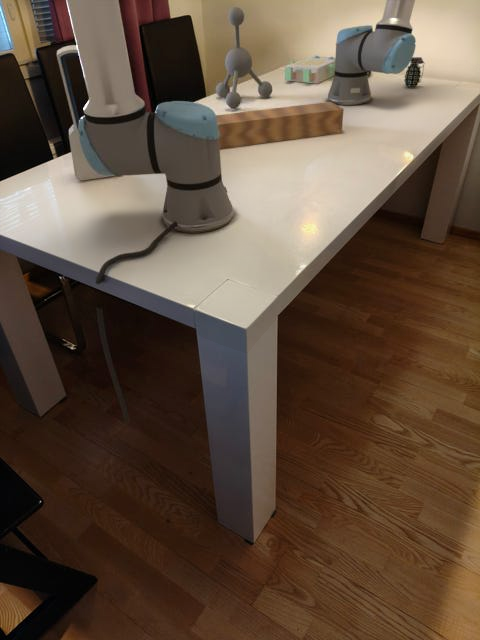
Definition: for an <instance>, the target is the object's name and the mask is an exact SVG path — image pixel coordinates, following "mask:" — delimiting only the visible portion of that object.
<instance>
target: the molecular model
mask: <svg viewBox="0 0 480 640" xmlns="http://www.w3.org/2000/svg"><path fill="white" fill-rule="evenodd" d="M227 18H228V22H229V24H230V25H232V26H234V41H235V42H234V43H235V44H234V45H235V47H233V48H232V49H230V50H229V51H228V52H227V54H226V56H225V59H224V66H225V70H226V71H227V74H226V77H225V79H224V81H221V82H219V83H218V84H216V86H215V93H216V95H217V96H218V97H219V98H223V99H224V98H225V103H226V105H227V107H228V108H231V109H236V108H238V107H240V105H241V103H242V97H241V94H240V93H239V92H237V89H238V80H239V79H241V78H244V77H246V76H247V75H248V74H249V75H250V77H251V78H252V79H253V80H254V81H255V83H257V85H258V87H257V92H258V94H259V96H260V97H262V98H268V97H270V96H271V95H272V93H273V86H272V84H271V83H270V81H266V80H265V81H264V80H263V81H262V80H261V79H260V78H259V77H258V76H257V74H256V73H255V72H254V71H253V70H252V68H253V67H252V66H253V59H252V56H251V54H250V52H249V51H248V50H247V49H246V48H244V47H241V45H240V44H241V43H240V41H241V40H240V25H242V24H243V22H244V20H245V13H244V11H243V9H242V8H240V7H237V6H234V7H232V8H230V10H229V11H228V15H227ZM231 76H232V77H233V78H232V79H233V80H232V86H231V88H230V85H229V81H230V79H231Z"/></svg>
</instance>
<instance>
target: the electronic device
mask: <svg viewBox="0 0 480 640" xmlns="http://www.w3.org/2000/svg"><path fill="white" fill-rule="evenodd" d="M70 56H71V57H72V56H79V53H78V49H77V44H76V45H75V44H72V45H66V46H62V47H61V48H59V49H58V50H56V58H57V63H58V67H59V71H60V75H61V78H62V82H63V87H64V91H65V94H66V95H65V96H66V99H67V102H68V106H69V112H70V115H71V118H72V123H73V124H72V125H71V126H70V127H69V129H68V139H69V145H70V152H71V153H70V154H71V157H72V158H71V160H72V165H73V171H74V177H75V178H77V179H78V180H79V181H89V180H96V179H102V178H108V177H110V176H109V175H100V174H98V173H97V172H96V171H94V170H93V169H92V168H91V166H90V165H89V163H88V162H87V160H86V158H85V155H84V153H83V150H82V147H81V144H80V139H79V137H80V134H79V131H78V125H79V121H80V117H79V112H78V108H77V105H76V101H75V96H74V93H73V89H72V84H71V80H70V79H71V78H70V75H69V70H68V67H67V62H66V58H67V57H70Z"/></svg>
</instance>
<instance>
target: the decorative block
mask: <svg viewBox="0 0 480 640" xmlns="http://www.w3.org/2000/svg"><path fill="white" fill-rule="evenodd" d="M334 74H335V57H334V56H329V57H327V56H319V55H314V56H313V57H310V58H304V59H300V60H298V61H293V60H292V61H290V64H287V66H286V67H284V81H287V82H288V81H289V82H297V83H309V84H319V83H321V82H324V81H326V80H328V79H330V78H334Z"/></svg>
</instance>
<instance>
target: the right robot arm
mask: <svg viewBox="0 0 480 640" xmlns="http://www.w3.org/2000/svg"><path fill="white" fill-rule="evenodd" d="M415 3H416V0H386V2H385V6H384V10H383V15H382V18H381V19H380V20H379V21H378V22H376V24H375V29H374V28H373V25H371V24H367V25H358V26H352V27H347V28H342V29H340V30H339V31H338V32H337V35H336V41H335V42H336V43H335V56H334V58H335V74H334V76H333V79H332V81H331V85H330V88H329V90H328V94H327V102H333V103H334V104H336V105H338V106H339V105H340V106H356V105H363V104H367V103H369V102H370V101H371V98H372V96H371V95H372V94H371V89H370V87H371V86H370V82H369V77H370V76H371V75H372V72H375V73H381V74H386V75H389V74H393V75H398V74H401V73H402V72H403V71H405V69H406V68H408V66H410V64H411V63H410V61H411V59H412V57H414V54H415V52H416V47H417V46H416V42H417V41H416V37H415V35H414V34H413V29H414V28H413V26H412V24H411V18H412V13H413V11H414V6H415Z"/></svg>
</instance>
